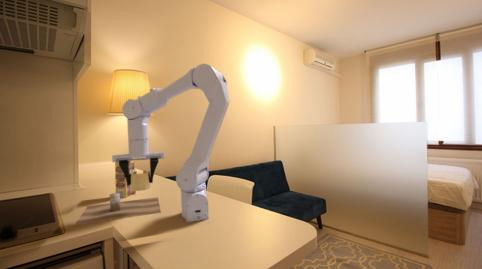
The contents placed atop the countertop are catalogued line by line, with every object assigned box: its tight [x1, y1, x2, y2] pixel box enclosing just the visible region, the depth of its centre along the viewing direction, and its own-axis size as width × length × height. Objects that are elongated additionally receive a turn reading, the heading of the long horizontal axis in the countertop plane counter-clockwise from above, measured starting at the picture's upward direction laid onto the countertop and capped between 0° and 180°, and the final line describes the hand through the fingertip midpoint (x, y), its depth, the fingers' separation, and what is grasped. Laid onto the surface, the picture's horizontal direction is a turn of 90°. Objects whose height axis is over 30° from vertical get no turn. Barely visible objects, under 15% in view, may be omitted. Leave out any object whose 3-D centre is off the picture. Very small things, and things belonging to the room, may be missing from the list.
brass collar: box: [130, 170, 151, 192], centre depth 74 cm, size 5×6×5 cm
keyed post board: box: [74, 192, 162, 227], centre depth 75 cm, size 17×22×6 cm
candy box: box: [114, 158, 137, 199], centre depth 92 cm, size 9×4×15 cm, turn 2°
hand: (140, 183), depth 74 cm, fingers closed on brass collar, 6 cm apart
